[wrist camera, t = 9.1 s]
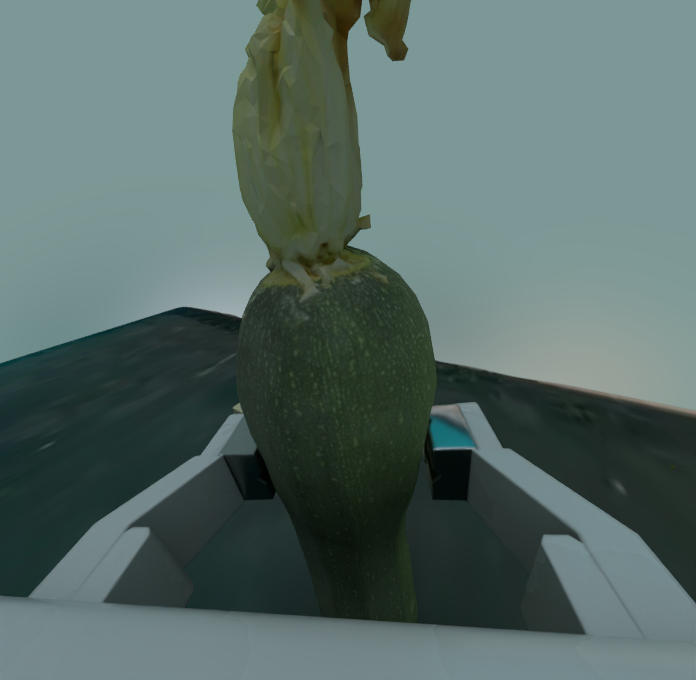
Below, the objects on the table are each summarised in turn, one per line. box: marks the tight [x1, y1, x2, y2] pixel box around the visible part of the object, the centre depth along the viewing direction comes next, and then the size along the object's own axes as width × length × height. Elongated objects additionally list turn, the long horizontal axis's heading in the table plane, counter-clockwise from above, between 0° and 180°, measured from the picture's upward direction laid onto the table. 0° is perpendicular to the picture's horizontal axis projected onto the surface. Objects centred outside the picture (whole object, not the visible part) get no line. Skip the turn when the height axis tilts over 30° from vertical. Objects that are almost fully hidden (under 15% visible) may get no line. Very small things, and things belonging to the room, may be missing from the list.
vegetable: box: [232, 0, 437, 623], centre depth 8 cm, size 4×4×20 cm
